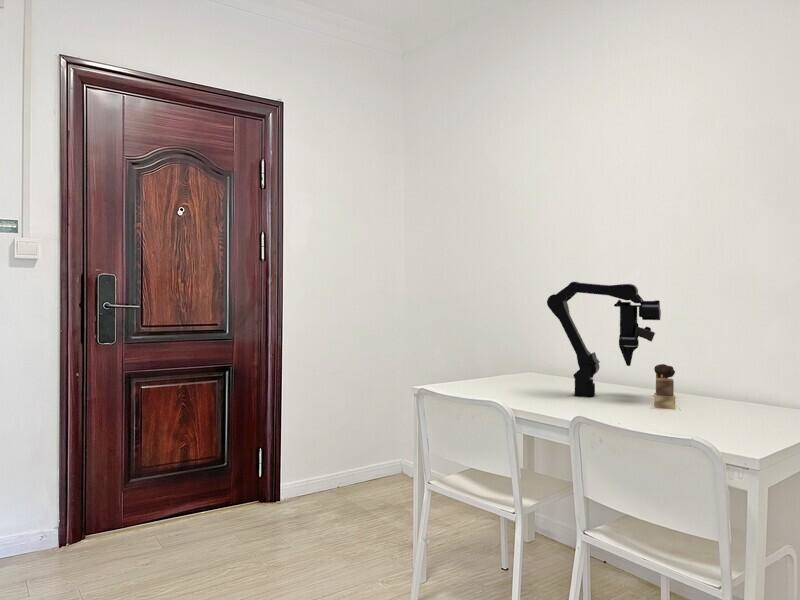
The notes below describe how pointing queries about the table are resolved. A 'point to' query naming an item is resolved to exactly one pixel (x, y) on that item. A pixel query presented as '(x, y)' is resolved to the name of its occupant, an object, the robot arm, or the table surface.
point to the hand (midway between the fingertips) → (628, 364)
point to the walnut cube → (664, 387)
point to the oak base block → (664, 402)
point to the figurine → (664, 371)
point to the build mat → (665, 409)
